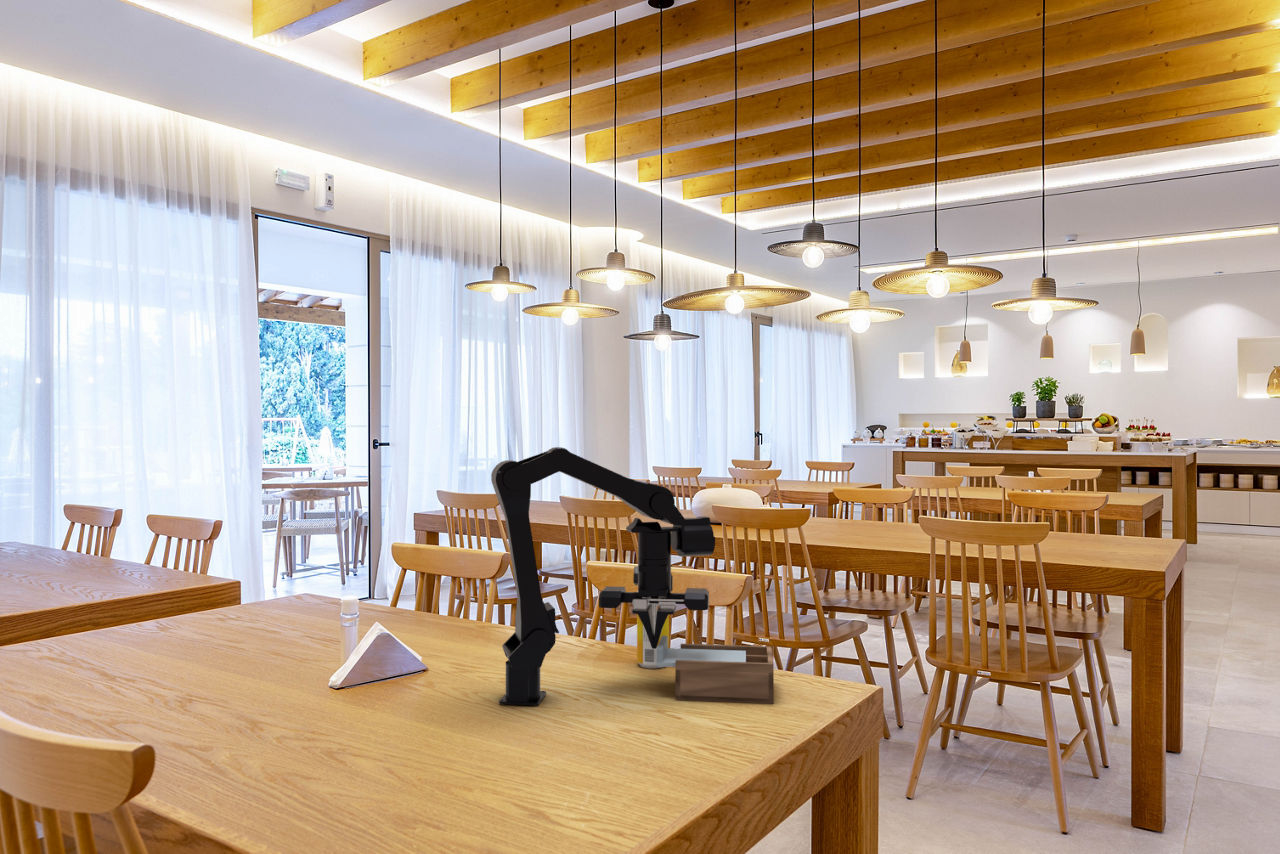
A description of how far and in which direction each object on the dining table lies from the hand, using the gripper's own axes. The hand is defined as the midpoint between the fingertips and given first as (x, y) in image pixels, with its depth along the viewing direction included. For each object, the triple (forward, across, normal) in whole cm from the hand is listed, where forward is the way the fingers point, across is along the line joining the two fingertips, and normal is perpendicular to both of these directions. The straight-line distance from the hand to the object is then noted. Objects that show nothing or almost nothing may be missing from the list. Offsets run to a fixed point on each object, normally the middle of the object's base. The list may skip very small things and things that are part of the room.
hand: (654, 648), depth 146 cm
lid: (+2, -8, 0) cm, 8 cm away
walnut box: (+7, -12, 0) cm, 14 cm away
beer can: (+7, +2, -15) cm, 17 cm away
